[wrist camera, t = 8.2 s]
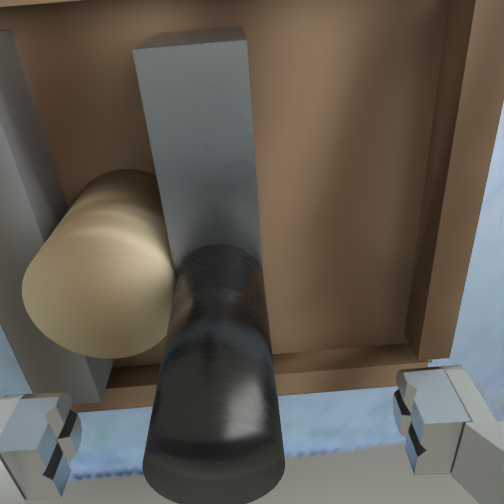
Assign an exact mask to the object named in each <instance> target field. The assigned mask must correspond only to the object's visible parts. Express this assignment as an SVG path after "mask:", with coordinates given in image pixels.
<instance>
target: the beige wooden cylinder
mask: <svg viewBox="0 0 504 504" xmlns="http://www.w3.org/2000/svg"><path fill="white" fill-rule="evenodd" d="M175 285H176V275H175V270H174V264H173V259H172V254H171V249H170V244H169V238H168V233H167V228H166V223H165V218H164V212H163V207H162V202H161V197H160V192H159V186H158V181H157V176H156V175H154V174H151V173H148V172H145V171H141V170H136V169H118V170H113V171H109V172H106V173H104V174H102V175H100V176H98V177H96V178H95V179H93V180H92V181H91V182H90V183H89V184H88V185H87V186H86V187H85V189H84V190H83V191H82V193H81V194H80V195H79V197H78V198H77V200H76V201H75V202H74V204H73V205H72V206H71V208H70V209H69V211H68V212H67V213H66V215H65V216H64V217H63V219H62V220H61V222H60V223H59V224H58V226H57V227H56V228H55V230H54V231H53V233H52V234H51V235H50V237H49V238H48V239H47V241H46V242H45V244H44V245H43V246H42V248H41V249H40V251H39V252H38V253H37V255H36V256H35V257H34V259H33V260H32V262H31V263H30V265H29V266H28V268H27V270H26V272H25V275H24V277H23V283H22V297H23V302H24V305H25V308H26V311H27V313H28V315H29V317H30V318H31V320H32V321H33V322H34V324H35V325H36V326H37V327H38V329H39V330H40V331H41V332H42V333H43V334H45V335H46V336H47V337H48V338H49V339H51V340H52V341H54V342H55V343H57V344H58V345H60V346H62V347H64V348H66V349H68V350H70V351H73V352H76V353H78V354H81V355H85V356H89V357H96V358H107V359H111V358H123V357H129V356H133V355H136V354H139V353H142V352H144V351H146V350H148V349H150V348H152V347H153V346H155V345H156V344H158V343H159V342H160V341H161V340H162V339H163V338H164V337H165V336H166V334H167V328H168V323H169V317H170V312H171V306H172V301H173V296H174V290H175Z"/></svg>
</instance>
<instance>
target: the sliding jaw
mask: <svg viewBox="0 0 504 504" xmlns="http://www.w3.org/2000/svg"><path fill="white" fill-rule="evenodd" d="M132 51H133V56H134V61H135V67H136V72H137V77H138V82H139V87H140V93H141V98H142V103H143V108H144V113H145V119H146V124H147V129H148V134H149V139H150V145H151V150H152V155H153V160H154V166H155V171H156V176H157V181H158V186H159V192H160V197H161V202H162V207H163V212H164V218H165V223H166V228H167V233H168V238H169V244H170V249H171V254H172V259H173V264H174V270H175V275H176V285H175V290H174V296H173V301H172V306H171V312H170V317H169V323H168V328H167V334H166V339H165V344H164V350H163V355H162V361H161V366H160V372H159V377H158V382H157V388H156V393H155V399H154V404H153V410H152V415H151V420H150V426H149V431H148V437H147V442H146V448H145V453H144V458H143V473H144V476H145V478H146V480H147V482H148V483H149V485H150V486H151V487H152V488H153V489H154V490H155V491H156V492H157V493H159V494H160V495H162V496H164V497H165V498H167V499H169V500H171V501H173V502H176V503H179V504H246V503H249V502H252V501H254V500H257V499H259V498H260V497H262V496H264V495H265V494H267V493H268V492H270V491H271V490H272V489H273V488H274V487H275V486H276V485H277V484H278V482H279V481H280V480H281V478H282V476H283V473H284V469H285V458H284V449H283V441H282V432H281V423H280V415H279V406H278V397H277V389H276V380H275V372H274V363H273V354H272V346H271V337H270V328H269V320H268V311H267V302H266V294H265V285H264V276H263V261H262V247H261V233H260V219H259V205H258V191H257V176H256V162H255V148H254V134H253V120H252V106H251V91H250V77H249V63H248V49H247V39H246V36H245V33H244V30H243V26H236V27H225V28H213V29H201V30H189V31H177V32H165V33H158V34H156V35H155V36H153V37H152V38H150V39H148V40H147V41H145V42H144V43H142V44H140V45H139V46H137V47H136V48H134V49H132Z"/></svg>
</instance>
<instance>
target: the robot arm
mask: <svg viewBox="0 0 504 504" xmlns="http://www.w3.org/2000/svg"><path fill="white" fill-rule="evenodd" d="M396 383H397V385H398V388H399V389H398V390H397V391H396V392H395V393H394V399H393V408H394V416H395V420H396V424H397V427H398V430H399V433H401V434H402V435H403V436H404V437H406V438H407V440H406V447H405V450H406V453H407V456H408V458H409V461H410V464H411V467H412V469H413V472H414V475H423V474H451V475H452V477H453V478H454V479H455V480H456V481H457V482H458V483H459V484H460V485H461V486H462V487H463V488H464V489H465V490H466V491H468V492H469V494H470V495H472V497H473V498H474V499H476V500H477V502H478V503H479V504H504V421H503V420H499V421H496V419H495V418H494V416H493V414H492V412H491V411H490V409H489V407H488V406H487V404H486V402H485V401H484V399H483V397H482V396H481V394H480V392H479V390H478V389H477V387H476V385H475V384H474V382H473V380H472V379H471V377H470V375H469V373H468V372H467V370H466V368H465V367H463V366H462V365H455V366H441V367H425V368H413V369H400V370H398V372H397V376H396ZM72 403H73V402H72V400H71V397H70V395H69V393H45V394H25V395H5V396H4V397H3V398H2V399H0V504H25V503H26V501H25V500H33V499H45V498H55V497H62V494H63V491H64V489H65V485H66V483H67V480H68V477H69V474H70V472H71V469H70V467H69V464H68V461H69V460H70V459H71V458H72V457H73V456H74V455H75V454H77V451H78V448H79V445H80V442H81V432H82V428H81V421H80V419H79V416H78V414H77V413H75V412H74V411H72V410H71V409H70V408H71V406H72Z"/></svg>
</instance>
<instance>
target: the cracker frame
mask: <svg viewBox="0 0 504 504" xmlns="http://www.w3.org/2000/svg"><path fill="white" fill-rule="evenodd" d="M236 26H243V30H244V33H245V36H246V39H247V49H248V63H249V77H250V91H251V106H252V120H253V134H254V148H255V162H256V176H257V191H258V205H259V219H260V233H261V247H262V261H263V276H264V285H265V294H266V302H267V311H268V320H269V328H270V337H271V346H272V354H273V363H274V372H275V380H276V389H277V396H283V395H295V394H307V393H319V392H331V391H343V390H355V389H367V388H379V387H391V386H398V385H397V383H396V376H397V372H398V370H400V369H413V368H425V367H427V364H428V362H432V359H440V358H449V357H450V353H451V348H452V343H453V338H454V334H455V329H456V324H457V319H458V315H459V310H460V305H461V300H462V296H463V291H464V286H465V281H466V277H467V272H468V267H469V262H470V258H471V253H472V248H473V243H474V239H475V234H476V229H477V224H478V220H479V215H480V210H481V205H482V201H483V196H484V191H485V186H486V182H487V177H488V172H489V167H490V163H491V158H492V153H493V148H494V144H495V139H496V134H497V129H498V125H499V120H500V115H501V110H502V106H503V101H504V0H0V324H1V326H2V328H3V330H4V333H5V335H6V337H7V339H8V341H9V343H10V346H11V348H12V350H13V352H14V354H15V356H16V358H17V361H18V363H19V365H20V367H21V369H22V371H23V373H24V376H25V378H26V380H27V382H28V384H29V386H30V388H31V391H32V393H33V394H45V393H69V395H70V397H71V400H72V402H73V403H72V406H71V408H70V409H71V410H72V411H74V412H75V413H80V412H92V411H104V410H116V409H128V408H140V407H152V406H153V404H154V399H155V393H156V388H157V382H158V377H159V372H160V366H161V361H162V355H163V350H164V344H165V339H166V336H165V337H164V338H163V339H162V340H161V341H160V342H159V343H158V344H156V345H155V346H153V347H152V348H150V349H148V350H146V351H144V352H142V353H139V354H136V355H133V356H129V357H123V358H111V359H107V358H96V357H89V356H85V355H81V354H78V353H76V352H73V351H70V350H68V349H66V348H64V347H62V346H60V345H58V344H57V343H55V342H54V341H52V340H51V339H49V338H48V337H47V336H46V335H45V334H43V333H42V332H41V331H40V330H39V329H38V327H37V326H36V325H35V324H34V322H33V321H32V320H31V318H30V317H29V315H28V313H27V311H26V308H25V305H24V302H23V297H22V283H23V277H24V275H25V272H26V270H27V268H28V266H29V265H30V263H31V262H32V260H33V259H34V257H35V256H36V255H37V253H38V252H39V251H40V249H41V248H42V246H43V245H44V244H45V242H46V241H47V239H48V238H49V237H50V235H51V234H52V233H53V231H54V230H55V228H56V227H57V226H58V224H59V223H60V222H61V220H62V219H63V217H64V216H65V215H66V213H67V212H68V211H69V209H70V208H71V206H72V205H73V204H74V202H75V201H76V200H77V198H78V197H79V195H80V194H81V193H82V191H83V190H84V189H85V187H86V186H87V185H88V184H89V183H90V182H91V181H92V180H93V179H95V178H96V177H98V176H100V175H102V174H104V173H106V172H109V171H113V170H118V169H136V170H141V171H145V172H148V173H151V174H154V175H156V171H155V166H154V160H153V155H152V150H151V145H150V139H149V134H148V129H147V124H146V119H145V113H144V108H143V103H142V98H141V93H140V87H139V82H138V77H137V72H136V67H135V61H134V56H133V51H132V49H134V48H136V47H137V46H139V45H140V44H142V43H144V42H145V41H147V40H148V39H150V38H152V37H153V36H155V35H156V34H158V33H165V32H177V31H189V30H201V29H213V28H225V27H236Z"/></svg>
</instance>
